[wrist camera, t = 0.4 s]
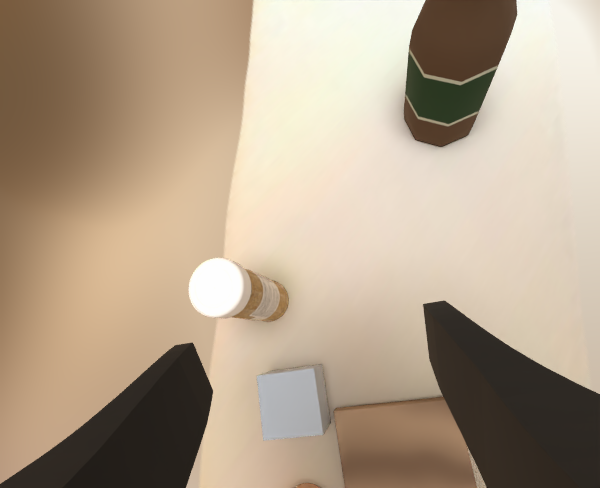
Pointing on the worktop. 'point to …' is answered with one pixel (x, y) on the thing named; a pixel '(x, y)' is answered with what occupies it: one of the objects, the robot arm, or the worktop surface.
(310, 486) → the cylinder
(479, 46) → the beer bottle
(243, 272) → the sprinkles bottle
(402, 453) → the plinth
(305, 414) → the block
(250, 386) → the worktop surface
